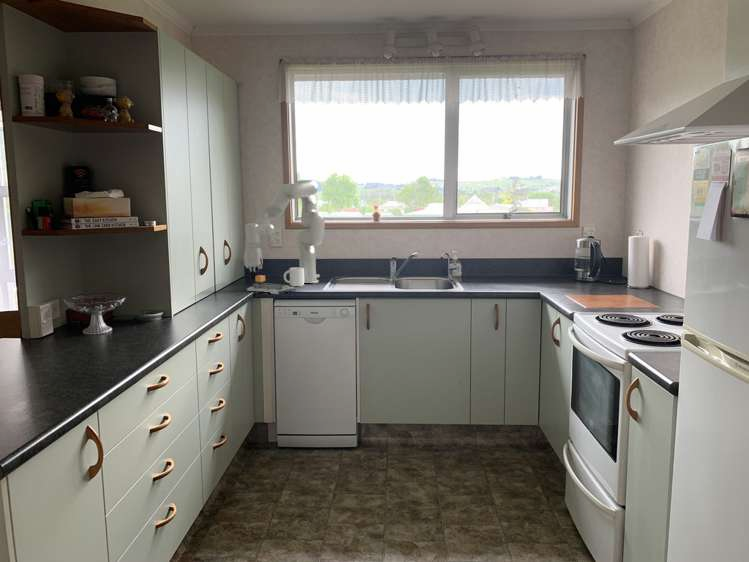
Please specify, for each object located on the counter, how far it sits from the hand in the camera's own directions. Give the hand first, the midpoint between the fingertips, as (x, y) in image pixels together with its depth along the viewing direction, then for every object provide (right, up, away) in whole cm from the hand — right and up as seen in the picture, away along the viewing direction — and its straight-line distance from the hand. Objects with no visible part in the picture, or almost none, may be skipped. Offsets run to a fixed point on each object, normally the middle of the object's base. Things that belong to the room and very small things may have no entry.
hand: (254, 278), depth 335 cm
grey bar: (+20, -7, -10) cm, 24 cm away
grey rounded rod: (-1, -6, +1) cm, 6 cm away
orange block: (+4, -4, -1) cm, 6 cm away
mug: (+20, -4, +12) cm, 24 cm away
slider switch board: (+10, -7, -5) cm, 13 cm away
